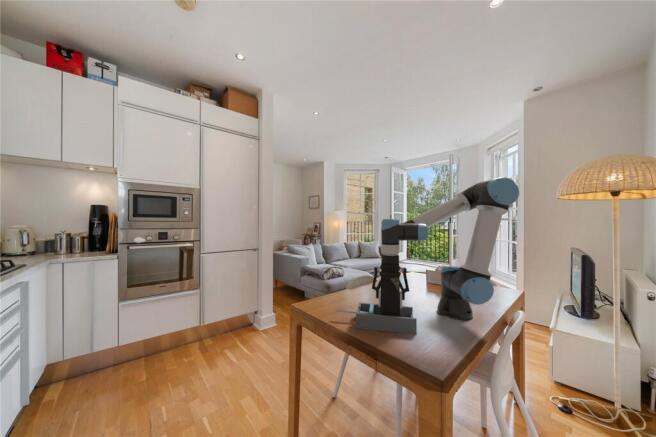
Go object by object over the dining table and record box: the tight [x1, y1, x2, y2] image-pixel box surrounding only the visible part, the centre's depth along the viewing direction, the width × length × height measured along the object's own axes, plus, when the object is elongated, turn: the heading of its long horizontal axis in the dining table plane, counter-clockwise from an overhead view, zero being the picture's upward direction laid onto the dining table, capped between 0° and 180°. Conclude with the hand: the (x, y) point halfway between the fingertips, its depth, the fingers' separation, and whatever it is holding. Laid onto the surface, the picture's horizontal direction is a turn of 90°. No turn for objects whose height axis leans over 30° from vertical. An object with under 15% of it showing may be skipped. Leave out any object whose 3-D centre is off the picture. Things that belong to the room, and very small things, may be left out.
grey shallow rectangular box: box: [355, 302, 418, 335], centre depth 103 cm, size 24×14×6 cm, turn 77°
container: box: [378, 270, 402, 317], centre depth 103 cm, size 9×9×20 cm
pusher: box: [335, 303, 375, 314], centre depth 106 cm, size 16×11×5 cm
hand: (390, 306), depth 103 cm, fingers closed on container, 8 cm apart
